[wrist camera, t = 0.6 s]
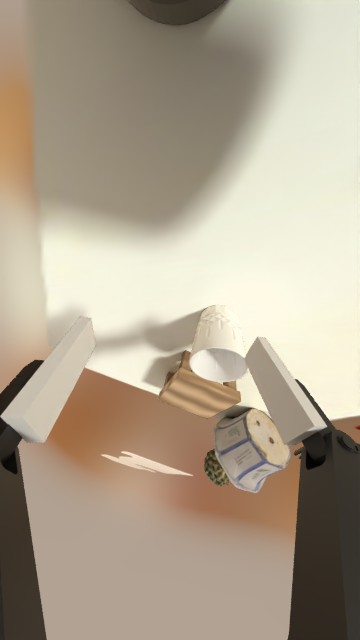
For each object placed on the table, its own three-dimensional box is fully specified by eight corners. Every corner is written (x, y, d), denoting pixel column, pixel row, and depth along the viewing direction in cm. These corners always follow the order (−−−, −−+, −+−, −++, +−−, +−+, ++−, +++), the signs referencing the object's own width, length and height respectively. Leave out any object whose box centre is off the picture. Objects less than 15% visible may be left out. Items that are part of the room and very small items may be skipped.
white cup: (218, 340, 32) (218, 387, 25) (188, 320, 30) (177, 364, 23) (251, 319, 28) (263, 369, 20) (217, 292, 26) (216, 337, 18)
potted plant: (249, 463, 33) (186, 502, 47) (315, 482, 36) (238, 513, 50) (230, 390, 49) (187, 435, 62) (277, 408, 52) (226, 447, 65)
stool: (184, 348, 36) (178, 376, 31) (238, 371, 38) (241, 401, 32) (164, 375, 45) (157, 400, 40) (208, 392, 47) (207, 418, 42)
